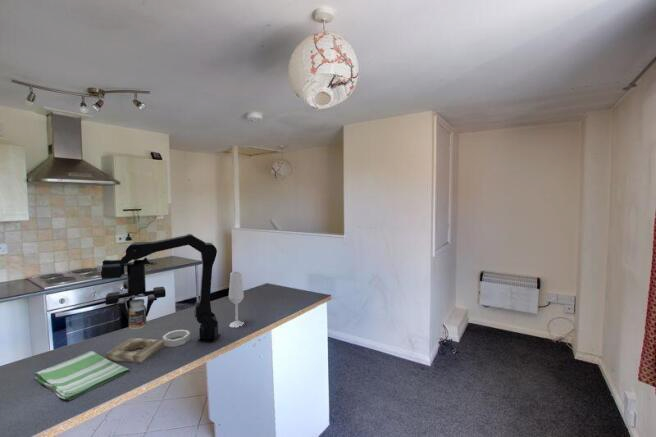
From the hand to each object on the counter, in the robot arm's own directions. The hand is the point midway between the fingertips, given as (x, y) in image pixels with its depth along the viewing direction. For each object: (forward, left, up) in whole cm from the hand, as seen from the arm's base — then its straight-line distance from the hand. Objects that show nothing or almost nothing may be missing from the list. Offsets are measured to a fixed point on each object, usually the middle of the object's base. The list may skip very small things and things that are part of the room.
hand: (137, 317), depth 115 cm
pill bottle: (0, 0, -4) cm, 4 cm away
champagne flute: (-26, -29, -14) cm, 41 cm away
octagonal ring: (-9, -10, -13) cm, 19 cm away
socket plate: (0, +1, -13) cm, 13 cm away
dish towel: (+7, +16, -14) cm, 23 cm away
